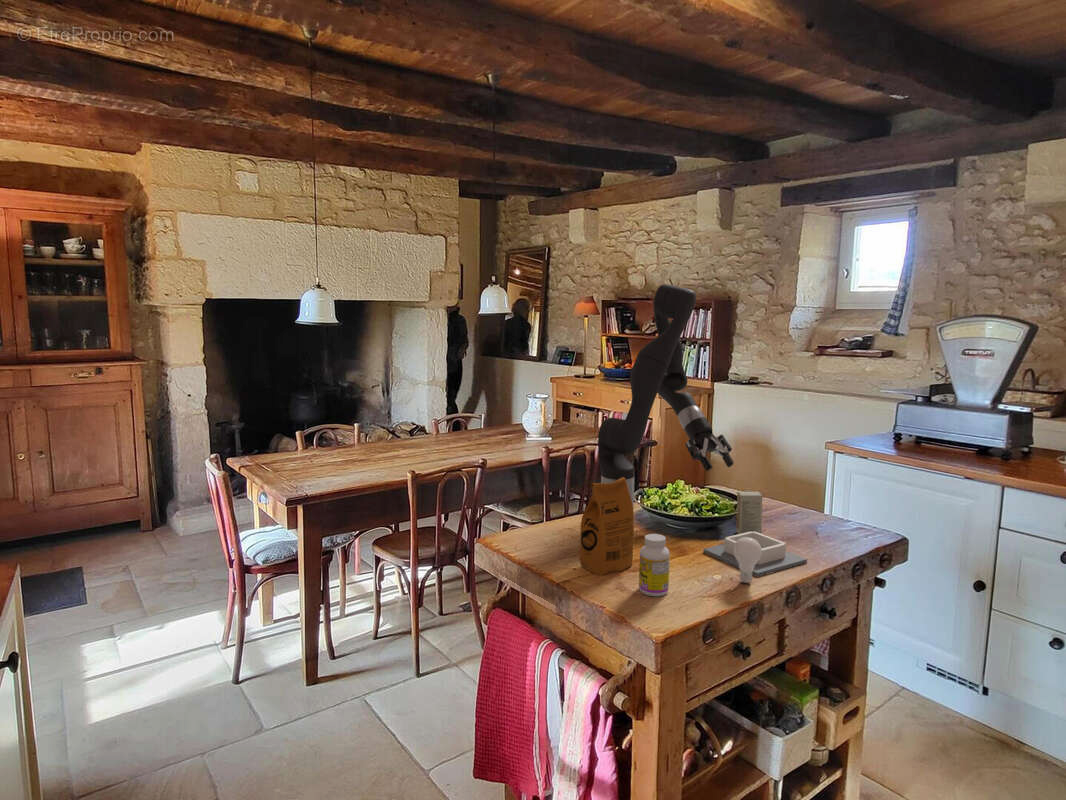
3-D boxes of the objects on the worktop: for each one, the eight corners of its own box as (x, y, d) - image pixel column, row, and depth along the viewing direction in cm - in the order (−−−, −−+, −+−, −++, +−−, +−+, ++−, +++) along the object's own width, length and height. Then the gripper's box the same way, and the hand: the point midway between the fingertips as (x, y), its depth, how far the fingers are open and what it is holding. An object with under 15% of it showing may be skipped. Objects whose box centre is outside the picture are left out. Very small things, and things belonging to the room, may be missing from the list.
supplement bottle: (635, 585, 152) (637, 532, 151) (663, 584, 153) (665, 531, 151) (642, 598, 146) (644, 542, 144) (671, 597, 146) (674, 542, 145)
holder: (757, 576, 158) (758, 559, 157) (703, 552, 173) (704, 536, 172) (806, 562, 166) (808, 545, 166) (751, 540, 182) (752, 525, 181)
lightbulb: (745, 590, 150) (748, 544, 148) (725, 580, 156) (728, 535, 154) (765, 585, 153) (768, 540, 151) (745, 575, 158) (748, 531, 157)
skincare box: (757, 532, 189) (760, 491, 187) (761, 537, 184) (763, 495, 183) (734, 531, 189) (736, 490, 187) (737, 536, 185) (740, 494, 183)
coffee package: (573, 564, 165) (575, 479, 161) (613, 555, 171) (615, 472, 168) (597, 578, 156) (599, 489, 153) (638, 568, 163) (640, 481, 159)
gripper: (683, 418, 196) (709, 463, 188) (718, 414, 203) (745, 457, 195) (670, 432, 202) (696, 477, 194) (705, 428, 209) (731, 471, 201)
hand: (720, 467), depth 194 cm, fingers open, 8 cm apart
